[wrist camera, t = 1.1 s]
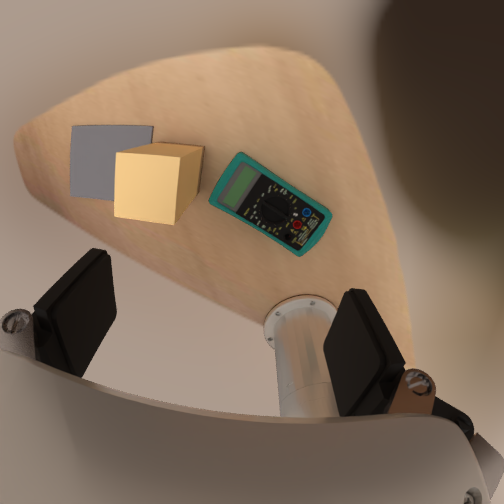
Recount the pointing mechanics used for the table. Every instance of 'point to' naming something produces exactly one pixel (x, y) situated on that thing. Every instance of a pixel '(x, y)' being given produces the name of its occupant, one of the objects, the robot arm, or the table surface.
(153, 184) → the ochre block
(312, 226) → the digital multimeter
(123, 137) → the mat
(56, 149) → the table surface
